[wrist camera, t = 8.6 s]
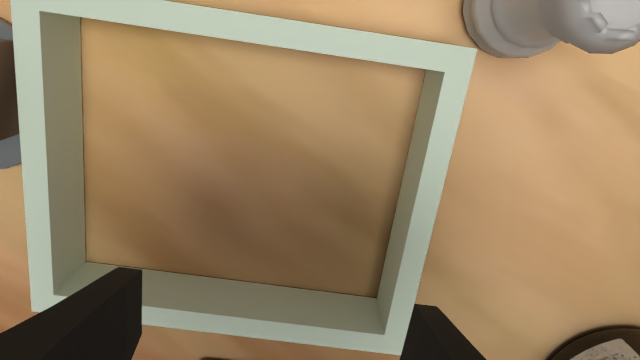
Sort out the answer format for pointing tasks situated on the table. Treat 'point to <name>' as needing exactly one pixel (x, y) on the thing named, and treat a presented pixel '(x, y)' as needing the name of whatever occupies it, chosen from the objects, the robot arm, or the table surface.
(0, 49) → the block
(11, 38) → the coaster
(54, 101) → the green rectangular frame
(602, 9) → the rook chess piece
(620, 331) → the ink bottle
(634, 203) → the table surface
